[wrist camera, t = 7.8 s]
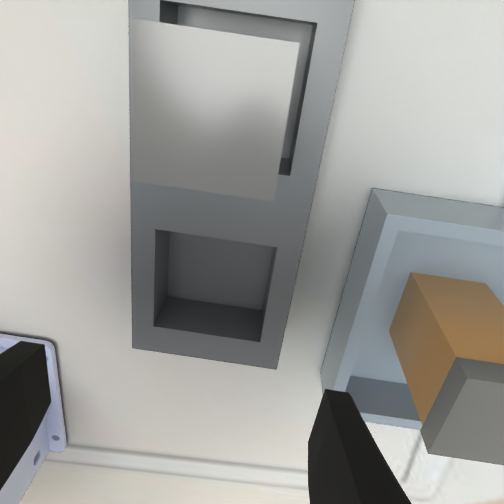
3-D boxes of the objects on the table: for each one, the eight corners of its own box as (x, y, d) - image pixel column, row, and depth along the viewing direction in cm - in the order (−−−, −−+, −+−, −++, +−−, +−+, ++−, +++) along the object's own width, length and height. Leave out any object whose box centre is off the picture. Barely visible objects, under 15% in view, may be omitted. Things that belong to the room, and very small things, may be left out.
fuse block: (277, 330, 22) (276, 369, 20) (150, 311, 22) (132, 347, 20) (347, -18, 15) (360, -30, 12) (155, -46, 15) (127, -65, 12)
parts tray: (479, 396, 23) (503, 442, 21) (320, 372, 23) (324, 415, 21) (577, 218, 18) (626, 249, 16) (372, 188, 18) (387, 213, 16)
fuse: (277, 142, 17) (273, 201, 11) (187, 128, 17) (132, 180, 11) (293, 40, 15) (299, 43, 9) (193, 26, 15) (131, 18, 9)
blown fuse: (458, 343, 21) (530, 469, 15) (386, 332, 21) (428, 453, 15) (488, 281, 19) (583, 396, 13) (409, 269, 19) (467, 378, 13)
